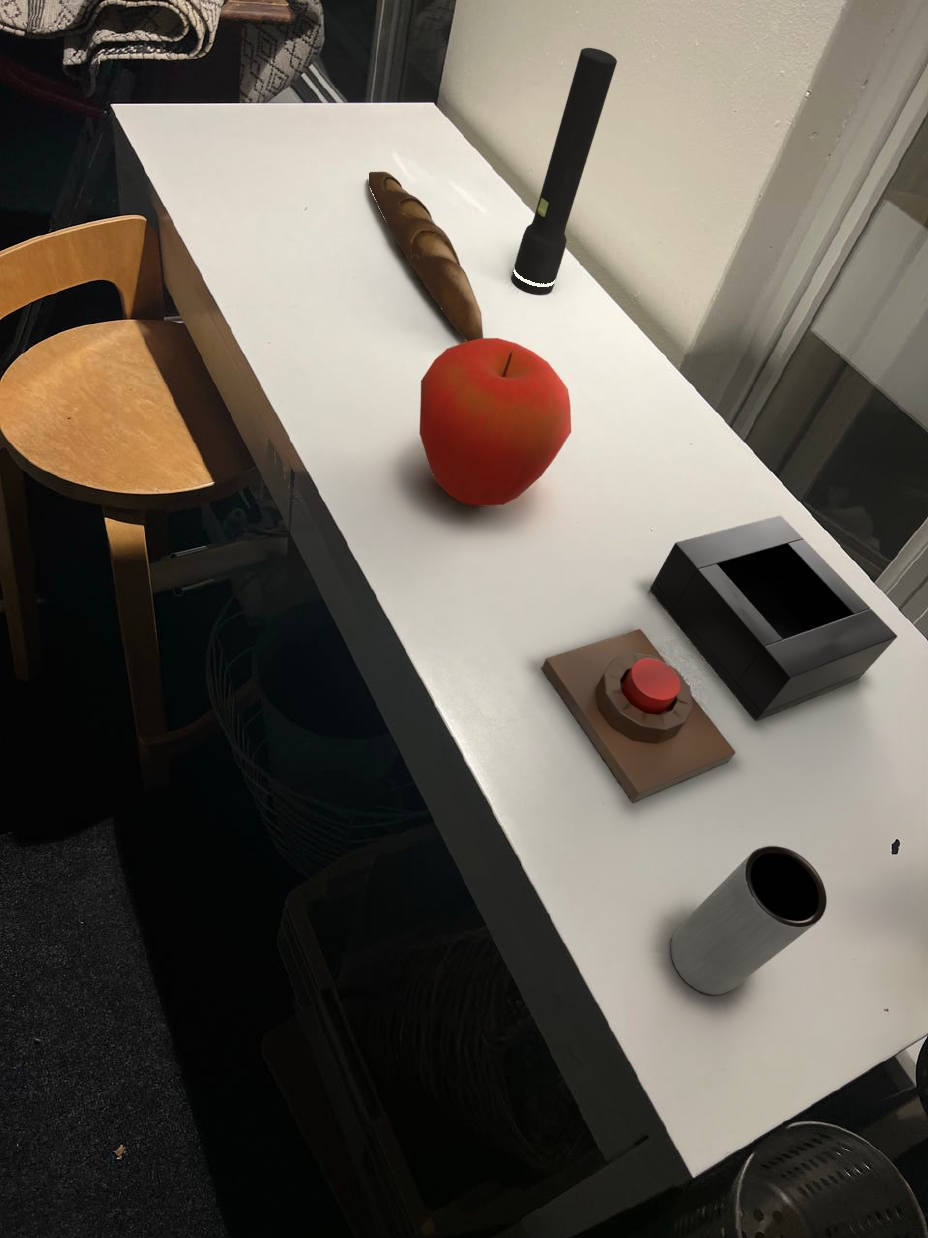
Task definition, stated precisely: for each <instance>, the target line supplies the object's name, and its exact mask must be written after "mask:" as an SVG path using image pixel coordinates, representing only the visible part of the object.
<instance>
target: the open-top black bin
mask: <svg viewBox="0 0 928 1238" xmlns="http://www.w3.org/2000/svg"><path fill="white" fill-rule="evenodd" d="M649 590H650V592H651V593H652V594H653V596H655V598H656V599H657V600H658V601H659V603H660V604H661V605H662V606H663V608H664V609H665V610H666V612H668V614H669V615H670V616H671V618H672V619H673V620H674V622H676V624H677V625H678V626H679V627H680V629H681V630H682V631H683V633H684V634H685V635H686V637H688V639H689V640H690V641H691V643H693V645H694V646H695V648H696V649H697V650H698V652H700V654H701V655H702V656H703V657H704V659H705V660H706V661H707V662H708V664H709V665H710V666H711V667H712V669H713V670H714V671H715V672H716V674H717V675H718V676H719V677H720V678H721V679H722V681H723V682H724V683H725V684H726V686H727V687H728V688H729V690H730V691H731V692H732V694H733V695H734V696H735V697H736V698H737V700H739V702H740V703H741V704H742V706H743V707H744V708H745V709H746V711H747V712H748V713H749V715H750V716H751V717H752V718H753V719H754V721H759V720H762V719H764V718H766V717H769V716H771V715H774V714H776V713H779V712H781V711H784V710H786V709H788V708H791V707H794V706H796V705H798V704H801V703H803V702H806V701H808V700H811V699H813V698H815V697H817V696H820V695H823V694H825V693H828V692H830V691H833V690H835V689H838V688H840V687H842V686H845V685H847V684H850V683H852V682H854V681H857V680H860V679H861V678H862V677H863V676H864V674H866V672H867V671H868V670H869V669H870V668H871V666H873V664H874V663H876V661H877V660H878V659H879V658H880V657H881V655H883V654H884V652H885V651H886V650H887V649H888V648H889V647H890V646H891V644H893V642H894V641H895V640H896V639H897V638H898V635H897V634H896V633H895V631H894V630H892V629H891V627H890V626H888V624H886V622H885V621H884V620H883V619H882V618H881V617H880V616H879V615H878V614H877V613H876V612H875V611H874V610H873V608H871V607H870V606H869V605H868V603H866V602H865V600H864V599H863V598H862V597H861V596H860V595H859V594H857V592H856V591H855V590H854V589H853V588H852V587H851V586H850V585H849V584H848V583H847V581H845V580H844V579H843V578H842V576H840V575H839V573H838V572H836V571H835V569H834V568H833V567H832V566H831V565H830V564H829V563H828V562H827V561H826V560H825V559H824V558H823V557H822V556H821V554H819V553H818V552H817V551H816V549H814V548H813V547H812V546H811V544H809V543H808V541H806V540H805V538H804V537H803V536H802V535H801V534H800V533H799V532H798V531H797V530H796V529H795V528H794V527H793V526H792V525H791V524H790V523H789V522H788V521H787V520H786V519H785V517H783V515H781V514H778V515H775V516H770V517H768V518H764V519H759V520H756V521H752V522H749V523H745V524H741V525H737V526H734V527H733V526H732V527H730V528H726V529H722V530H719V531H714V532H710V533H706V534H703V535H699V536H695V537H692V538H688V539H684V540H680V541H676V542H675V543H674V544H673V546H672V547H671V549H670V551H669V553H668V555H667V556H666V558H665V559H664V562H663V564H662V566H661V568H660V570H659V571H658V573H657V575H656V576H655V579H654V581H653V582H652V584H651V586H650V587H649Z"/></svg>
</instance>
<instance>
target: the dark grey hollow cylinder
mask: <svg viewBox="0 0 928 1238" xmlns="http://www.w3.org/2000/svg"><path fill="white" fill-rule="evenodd" d="M827 903H828V897H827V892H826V888H825V885H824V882H823V880H822V878H821V876H820V874H819V873H818V871H817V870H816V868H815V867H814V866H813V865H812V864H811V863H810V862H809V861H808V860H807V859H806V858H804V857H803V856H802V855H801V854H799V853H798V852H796V851H794V850H792V849H790V848H787V847H785V846H780V845H775V844H774V845H771V844H770V845H763V846H761V847H758V848H756V849H755V850H753V851H752V852H751V853H750V854H749V855H748V856H747V857H746V858H745V859H744V860H743V861H742V862H740V864H739V865H738V866H737V867H736V868H735V869H734V870H733V871H732V872H731V873H730V874H729V875H728V876H727V877H726V878H725V879H724V880H723V881H722V882H721V883H720V884H719V885H718V886H717V887H716V888H715V889H714V890H713V891H712V892H711V893H710V894H709V896H707V898H705V899H704V901H702V902H701V903H700V905H698V906H697V907H696V909H695V910H693V912H692V913H690V914H689V916H688V917H687V918H686V919H685V920H683V922H681V924H679V926H678V927H677V928H676V930H675V931H674V933H673V934H672V938H671V942H670V956H671V960H672V963H673V965H674V967H675V969H676V971H677V972H678V974H679V976H680V977H681V978H682V979H683V980H684V981H685V982H686V983H687V984H688V985H689V986H690V987H692V988H693V989H694V990H696V991H699V992H700V993H702V994H706V995H711V996H719V995H720V996H721V995H724V994H726V993H729V992H731V991H732V990H733V989H735V988H737V987H738V986H739V985H740V984H742V983H743V982H745V980H747V979H748V978H749V977H750V976H751V975H753V974H754V973H755V972H757V971H758V970H759V969H760V968H762V967H763V966H764V965H765V964H767V963H768V962H769V961H770V960H772V959H773V958H775V957H776V956H777V955H778V954H780V952H782V951H784V950H785V949H786V948H787V947H789V945H791V944H792V943H793V942H795V941H796V940H797V939H798V938H800V937H801V936H802V935H803V934H805V933H806V932H807V931H809V930H810V929H811V928H813V927H814V926H815V925H816V924H817V923H818V922H819V921H820V920H821V919H822V918H823V916H824V914H825V912H826V909H827Z"/></svg>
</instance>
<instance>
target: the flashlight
mask: <svg viewBox="0 0 928 1238" xmlns="http://www.w3.org/2000/svg"><path fill="white" fill-rule="evenodd" d="M617 63H618V60H617V59H616V57H615V56H614V55H613V54H612V53H609V52H607V51H605V50H602V49H599V48H594V47H583V48H581V50H580V52H579V56H578V60H577V62H576V67H575V70H574V74H573V77H572V81H571V84H570V88H569V91H568V95H567V98H566V102H565V106H564V109H563V113H562V116H561V119H560V123H559V127H558V131H557V134H556V138H555V141H554V144H553V148H552V152H551V155H550V159H549V163H548V166H547V170H546V173H545V178H544V181H543V184H542V187H541V192H540V195H539V198H538V201H537V206H536V209H535V213H534V216H533V219H532V222H531V223H530V224H529V225H527V227H526V228H525V229H524V232H523V234H522V238H521V241H520V244H519V248H518V252H517V254H516V255H517V256H516V258H515V263H514V266H515V270H516V272H517V273H518V274H519V275H520V276H522V277H523V278H524V279H527V280H530V281H532V282H535V283H540V284H541V283H542V284H543V283H544V284H547V283H551V282H553V281H554V280H555V279H556V280H557V277H558V273H559V271H560V267H561V264H562V260H563V257H564V254H565V250H566V246H567V241H568V240H567V236H566V234H565V233H566V229H567V225H568V222H569V218H570V215H571V212H572V209H573V205H574V202H575V199H576V195H577V192H578V189H579V186H580V183H581V180H582V176H583V174H584V170H585V167H586V163H587V160H588V157H589V154H590V150H591V148H592V144H593V141H594V137H595V134H596V132H597V129H598V125H599V122H600V119H601V115H602V113H603V108H604V106H605V103H606V99H607V95H608V92H609V89H610V86H611V83H612V79H613V76H614V73H615V70H616V67H617ZM510 278H511V282H512V283H513V285H514V286H515V287H516V288H518V289H519V290H521V291H523V292H525V293H528V294H532V295H537V296H541V295H542V296H543V295H544V296H545V295H548V294H550V293H551V292H552V291H553V289H554V287H555V283H554V284H553V285H552V286H549V287H537V286H532V285H529V284H527V283H525V282H523V281H521V280H520V279H518V278H517V277H516V276H515V274H514V272H513V271H512V272H511V277H510ZM556 280H555V281H556Z"/></svg>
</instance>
